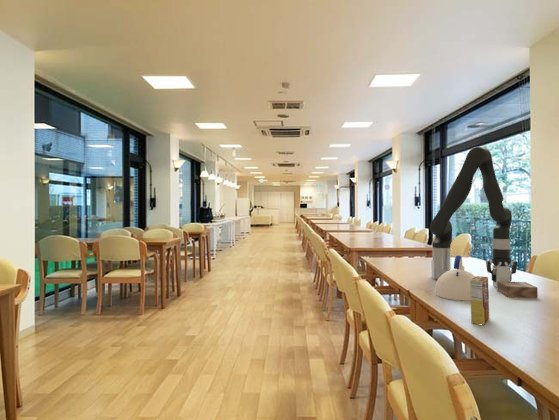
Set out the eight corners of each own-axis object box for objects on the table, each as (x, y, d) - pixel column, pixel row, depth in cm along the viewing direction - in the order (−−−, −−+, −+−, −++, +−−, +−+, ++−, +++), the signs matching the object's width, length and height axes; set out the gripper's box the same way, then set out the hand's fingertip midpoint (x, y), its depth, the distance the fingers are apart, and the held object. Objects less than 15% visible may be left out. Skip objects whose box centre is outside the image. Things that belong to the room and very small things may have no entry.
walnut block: (507, 297, 168) (507, 286, 168) (497, 291, 180) (497, 281, 180) (537, 299, 166) (537, 287, 166) (525, 292, 178) (525, 282, 178)
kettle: (485, 293, 177) (485, 254, 176) (482, 303, 159) (482, 260, 158) (438, 288, 187) (438, 251, 187) (431, 297, 169) (430, 257, 169)
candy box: (476, 317, 139) (476, 275, 139) (489, 319, 136) (489, 276, 136) (469, 323, 132) (469, 279, 132) (483, 325, 129) (483, 280, 129)
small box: (510, 289, 184) (510, 267, 184) (498, 288, 185) (498, 266, 185) (504, 285, 192) (504, 264, 192) (492, 285, 193) (492, 264, 193)
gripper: (513, 247, 191) (513, 280, 191) (482, 247, 193) (483, 280, 193) (520, 248, 184) (520, 283, 184) (488, 248, 186) (488, 283, 186)
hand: (501, 281), depth 189 cm, fingers open, 6 cm apart
